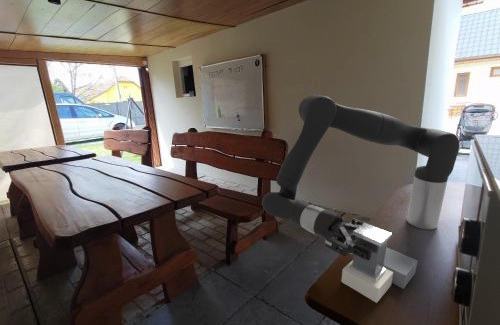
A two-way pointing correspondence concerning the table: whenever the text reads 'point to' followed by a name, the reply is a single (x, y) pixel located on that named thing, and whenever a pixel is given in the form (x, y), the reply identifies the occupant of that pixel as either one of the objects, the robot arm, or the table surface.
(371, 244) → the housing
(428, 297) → the table surface
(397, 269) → the stand
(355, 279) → the stand
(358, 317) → the table surface
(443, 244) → the table surface
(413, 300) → the table surface
